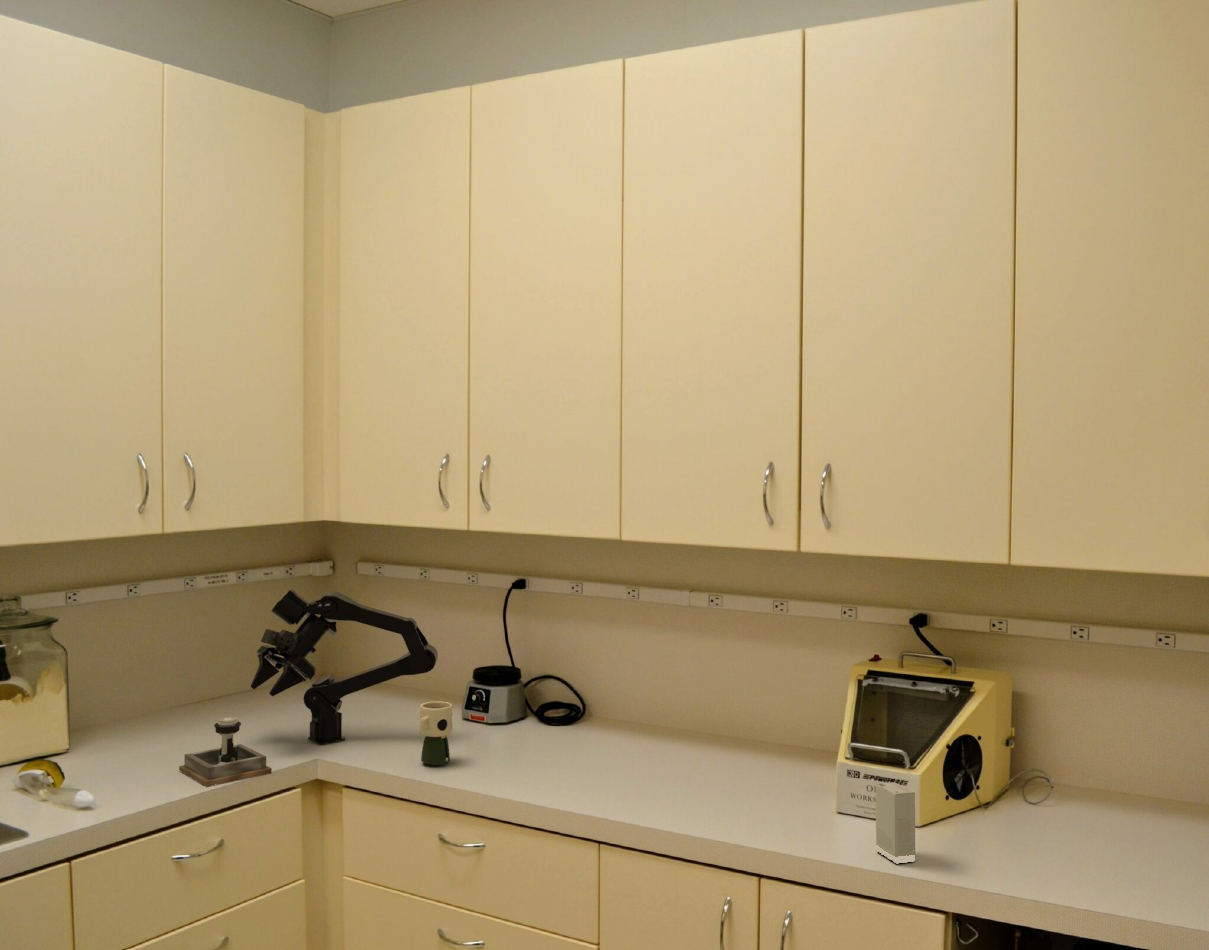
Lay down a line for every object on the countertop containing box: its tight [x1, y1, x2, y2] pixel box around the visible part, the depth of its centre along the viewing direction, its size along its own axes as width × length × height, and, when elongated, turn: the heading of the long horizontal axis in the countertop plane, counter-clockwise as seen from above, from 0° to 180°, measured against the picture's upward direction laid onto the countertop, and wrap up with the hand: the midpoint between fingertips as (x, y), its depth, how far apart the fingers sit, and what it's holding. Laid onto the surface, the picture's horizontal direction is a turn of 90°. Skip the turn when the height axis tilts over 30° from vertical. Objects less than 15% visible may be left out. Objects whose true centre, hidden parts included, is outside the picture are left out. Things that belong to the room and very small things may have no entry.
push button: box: [213, 716, 242, 764], centre depth 218 cm, size 7×5×10 cm
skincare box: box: [874, 781, 916, 857], centre depth 177 cm, size 6×4×12 cm
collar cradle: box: [178, 743, 273, 787], centre depth 218 cm, size 14×14×4 cm
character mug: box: [419, 700, 453, 766], centre depth 226 cm, size 11×7×13 cm, turn 154°
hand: (261, 691), depth 234 cm, fingers open, 9 cm apart
